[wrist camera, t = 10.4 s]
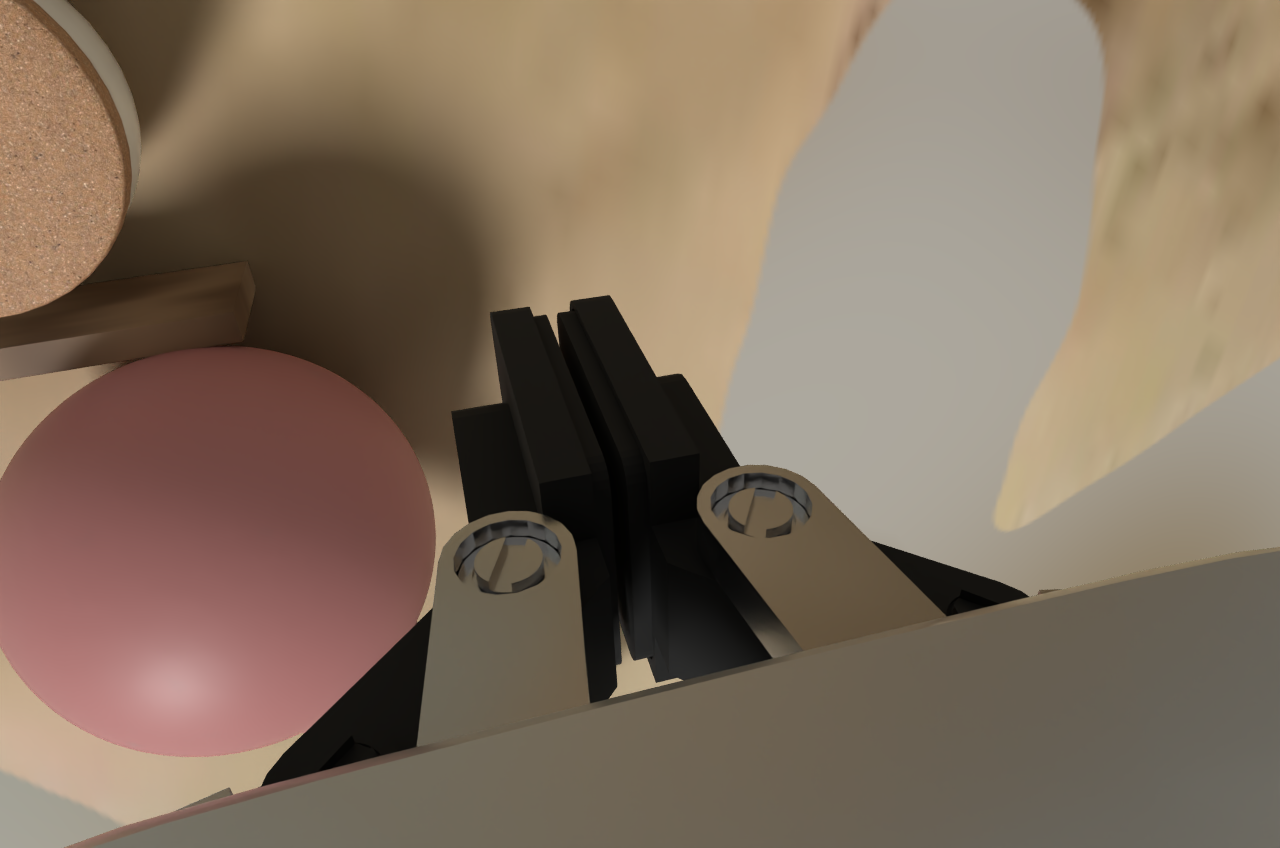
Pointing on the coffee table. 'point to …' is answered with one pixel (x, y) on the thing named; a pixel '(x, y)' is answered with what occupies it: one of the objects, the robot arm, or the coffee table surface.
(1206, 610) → the robot arm
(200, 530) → the balloon
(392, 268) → the coffee table surface
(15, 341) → the open wooden box
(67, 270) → the lidded jar
